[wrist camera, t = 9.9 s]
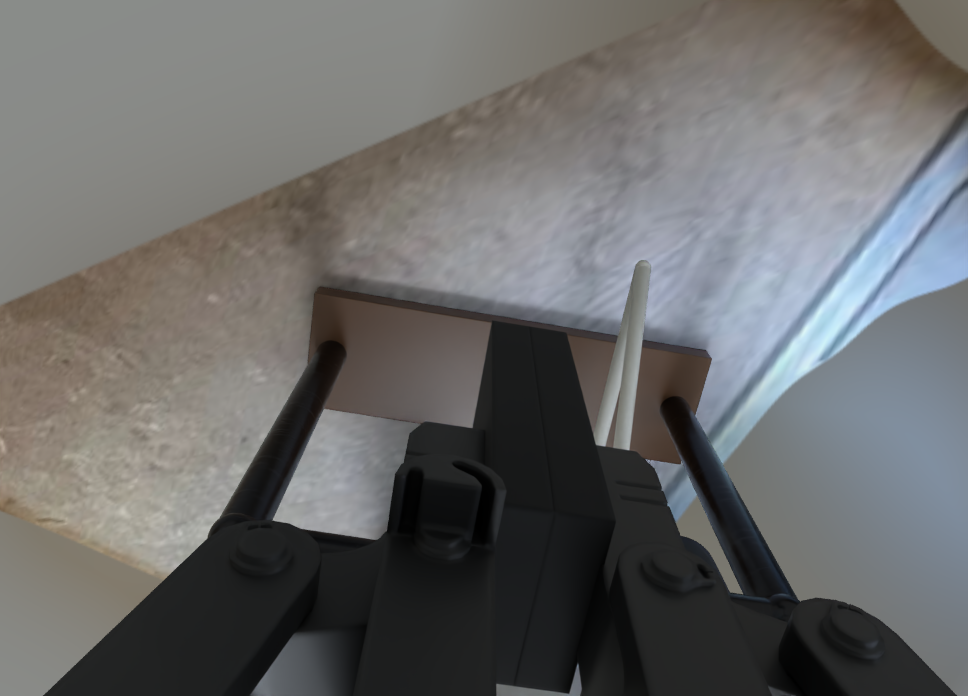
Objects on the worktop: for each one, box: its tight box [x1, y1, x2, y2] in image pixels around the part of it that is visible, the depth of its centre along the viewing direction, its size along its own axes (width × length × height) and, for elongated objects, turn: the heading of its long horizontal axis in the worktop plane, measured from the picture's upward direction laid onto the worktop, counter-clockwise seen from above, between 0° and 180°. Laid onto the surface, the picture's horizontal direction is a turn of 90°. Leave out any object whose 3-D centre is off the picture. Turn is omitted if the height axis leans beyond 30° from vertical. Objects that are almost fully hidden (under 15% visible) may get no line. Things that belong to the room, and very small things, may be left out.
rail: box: [207, 287, 800, 622], centre depth 42 cm, size 8×26×23 cm, turn 80°
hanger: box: [593, 260, 651, 450], centre depth 36 cm, size 23×1×18 cm, turn 170°
